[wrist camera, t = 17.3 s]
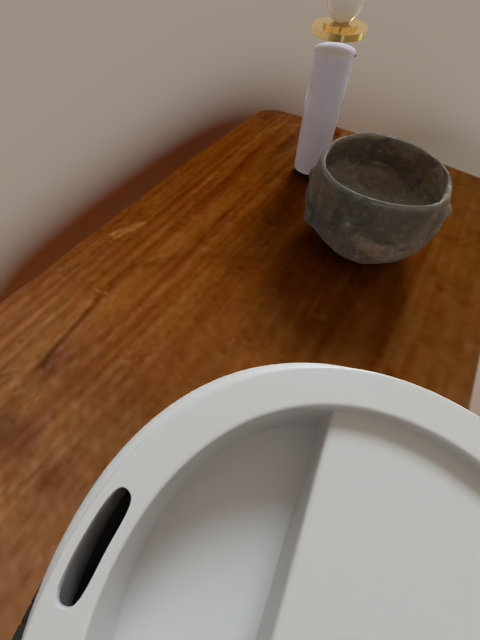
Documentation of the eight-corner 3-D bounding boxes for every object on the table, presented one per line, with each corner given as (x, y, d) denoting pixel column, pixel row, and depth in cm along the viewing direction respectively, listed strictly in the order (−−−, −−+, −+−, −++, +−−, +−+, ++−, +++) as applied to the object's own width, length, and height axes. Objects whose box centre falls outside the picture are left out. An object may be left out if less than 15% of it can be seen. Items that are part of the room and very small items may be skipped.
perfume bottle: (325, 185, 43) (383, -21, 26) (286, 178, 44) (318, -26, 27) (329, 163, 46) (384, -35, 29) (292, 157, 47) (325, -40, 30)
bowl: (365, 308, 32) (412, 238, 24) (269, 230, 38) (278, 152, 30) (436, 249, 37) (496, 173, 29) (340, 188, 43) (366, 110, 35)
